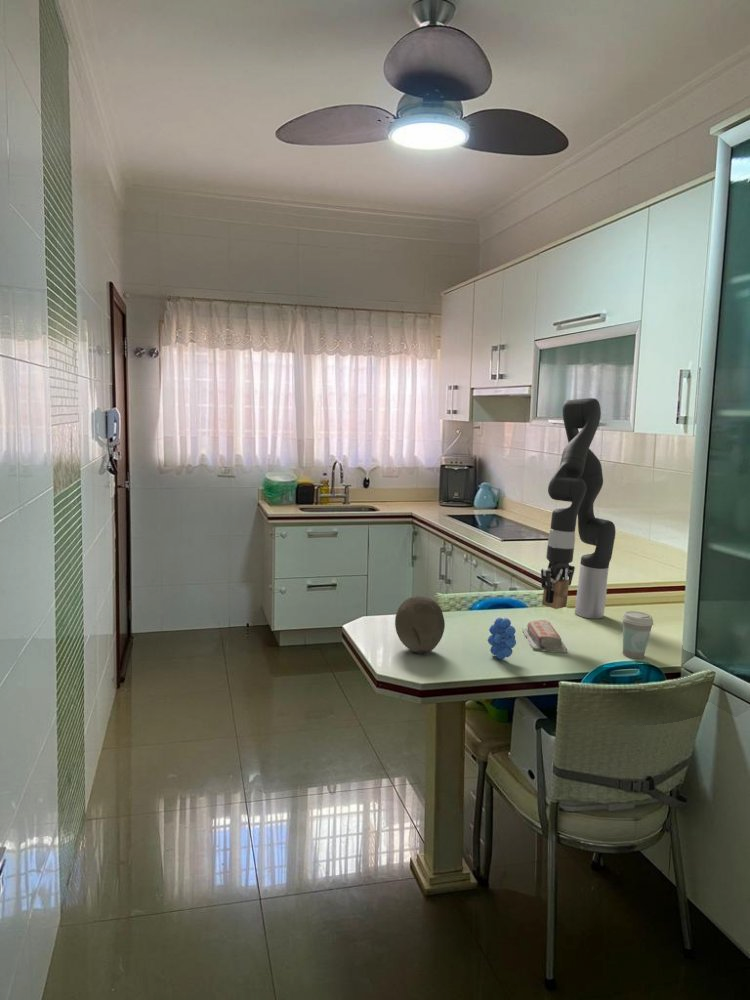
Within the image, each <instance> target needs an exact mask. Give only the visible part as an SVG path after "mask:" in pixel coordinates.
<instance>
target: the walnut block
mask: <svg viewBox="0 0 750 1000" xmlns="http://www.w3.org/2000/svg"><path fill="white" fill-rule="evenodd" d="M551 579H552V578H551ZM552 580H555V579H552ZM546 583H547V582H545V584H546ZM551 586H552V582H551ZM569 587H570V586H569V580H564V579H559V581H558V582H557V583H556V584H555V589H554V597H553V603H548V602H546V601H545V598H546V589H545V588H543V594H542V601H541V602H542V603H541V605H542V606H545V607H549V608H551V609H555V610H558V609H563V608H566V607H567V602H568V595H569Z"/></svg>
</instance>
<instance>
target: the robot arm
mask: <svg viewBox="0 0 750 1000" xmlns="http://www.w3.org/2000/svg"><path fill="white" fill-rule="evenodd" d="M601 413H602V412H601V404H600V402H599V400H598V399H596V398H592V397H591V398H589V397H587V398H578V399H568V400H566V401H564V402H563V405H562V419H563V425H564V429H565V435H566V437H567V442H568V443H567V444H566V446H565V448H564V449H563V451H562V454H561V459H560V463H559V465H558V468H557V470H556V471H555V473H554V474H553V476H552V477H551V480H550V481H549V483H548V487H547V493H548V496H549V497H550V498H551V499H552V500H554V501H562V502H568V503H569V502H570V503H571V505H570V506H568V507H566V508H564V507H562V508H556V509H555V508H554V510H553V511H552V513H551V520H550V521H551V522H550V528H549V533H548V538H547V539H548V540H547V548H546V556H545V558H546V559H547V561H548V562H549V563H548V565H547V568H541V570H540V579H541V580H540V581H541V588H542V589H544V588H545V589H546V598H545V601H546V602H548V603H553V597H554V589H555V584H556V583H557V582H558V581H559V579H564V580H569V587H570V586H571V585H572V581H573V577H574V573H575V569H576V567H575V566H574V565H570V563H572V562H573V560H574V551H575V542H576V525H577V531H578V536H579V539H580V540H581V542H582V543H584V544H586V545H591V546H594V547H595V548H594V552H592V553H588V554H583V555H582V556H581V558H580V563H579V564H580V565H579V572H578V582H577V590H576V598H575V607H574V608H575V609H574V614H575V615H577V616H579V617H581V618H586V619H595V620H596V619H597V620H599V619H602V618H603V617H604V616H605V608H606V602H607V601H606V600H607V592H608V587H607V586H608V574H609V569H610V568H609V567H610V563H611V559H612V557H613V550H614V545H615V539H616V525H615V524H614V522H613V521H612V520H608V519H605V518H604V519H603V518H598V517H596V516H595V513H594V512H595V511H594V504H595V500H596V499H597V497H598V496H599V494H600V492H601V490H602V488H603V485H604V477H603V468H602V467H603V466H602V464H601V461H600V460H599V458H598V457H597V456H596V454H595V452H593V450H591V449H590V446H591V444H592V443H593V441H594V440H593V439H594V437H595V435H596V432H597V430H598V428H599V425H600V422H601V416H602V415H601ZM579 429H581V430H579ZM551 578H552V579H555V580H552V579H551ZM545 582H547V583H546V584H545ZM551 582H552V586H551Z"/></svg>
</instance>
